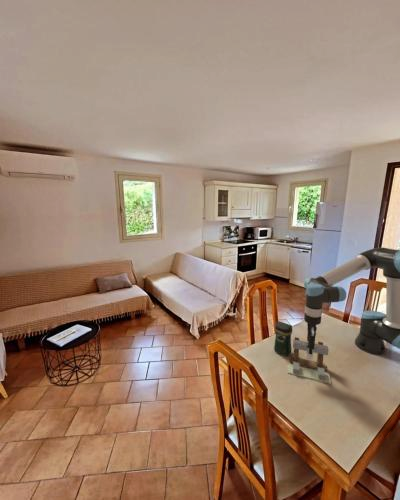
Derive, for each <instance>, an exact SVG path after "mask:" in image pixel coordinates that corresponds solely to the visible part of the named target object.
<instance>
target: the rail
mask: <svg viewBox="0 0 400 500" xmlns="http://www.w3.org/2000/svg"><path fill="white" fill-rule="evenodd" d="M307 346H308V341H305V340H304V341H303V340H300V339H299V340H295V338H294V339H293V342H292V348H293V349H294V348H295V349H299V351H305V352H306V351H307ZM314 353H316V354H318V353H319V354H323V356H328V355H329V346H328V345H324V344H323V345H320V344H318V343H315V346H314V351H313V354H314Z"/></svg>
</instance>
